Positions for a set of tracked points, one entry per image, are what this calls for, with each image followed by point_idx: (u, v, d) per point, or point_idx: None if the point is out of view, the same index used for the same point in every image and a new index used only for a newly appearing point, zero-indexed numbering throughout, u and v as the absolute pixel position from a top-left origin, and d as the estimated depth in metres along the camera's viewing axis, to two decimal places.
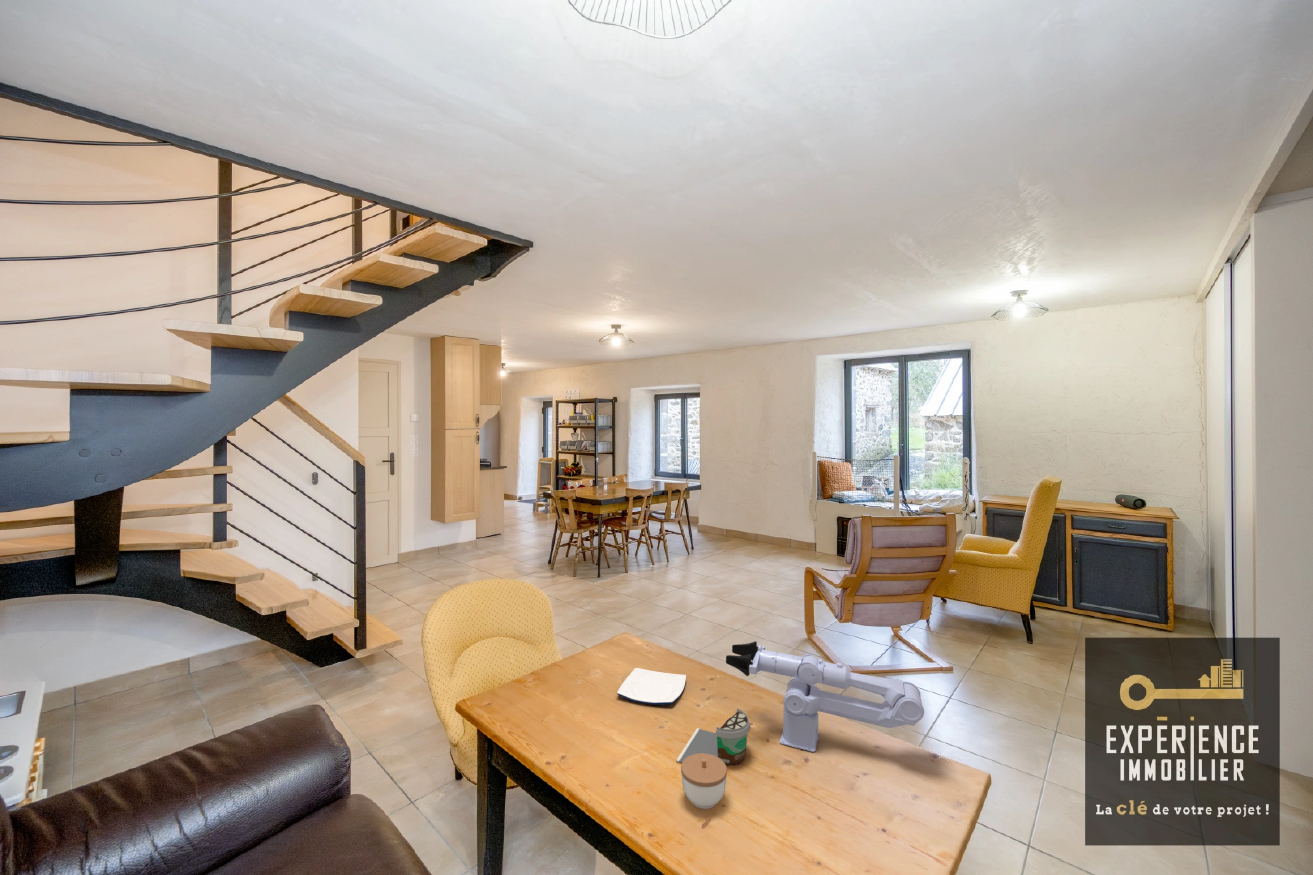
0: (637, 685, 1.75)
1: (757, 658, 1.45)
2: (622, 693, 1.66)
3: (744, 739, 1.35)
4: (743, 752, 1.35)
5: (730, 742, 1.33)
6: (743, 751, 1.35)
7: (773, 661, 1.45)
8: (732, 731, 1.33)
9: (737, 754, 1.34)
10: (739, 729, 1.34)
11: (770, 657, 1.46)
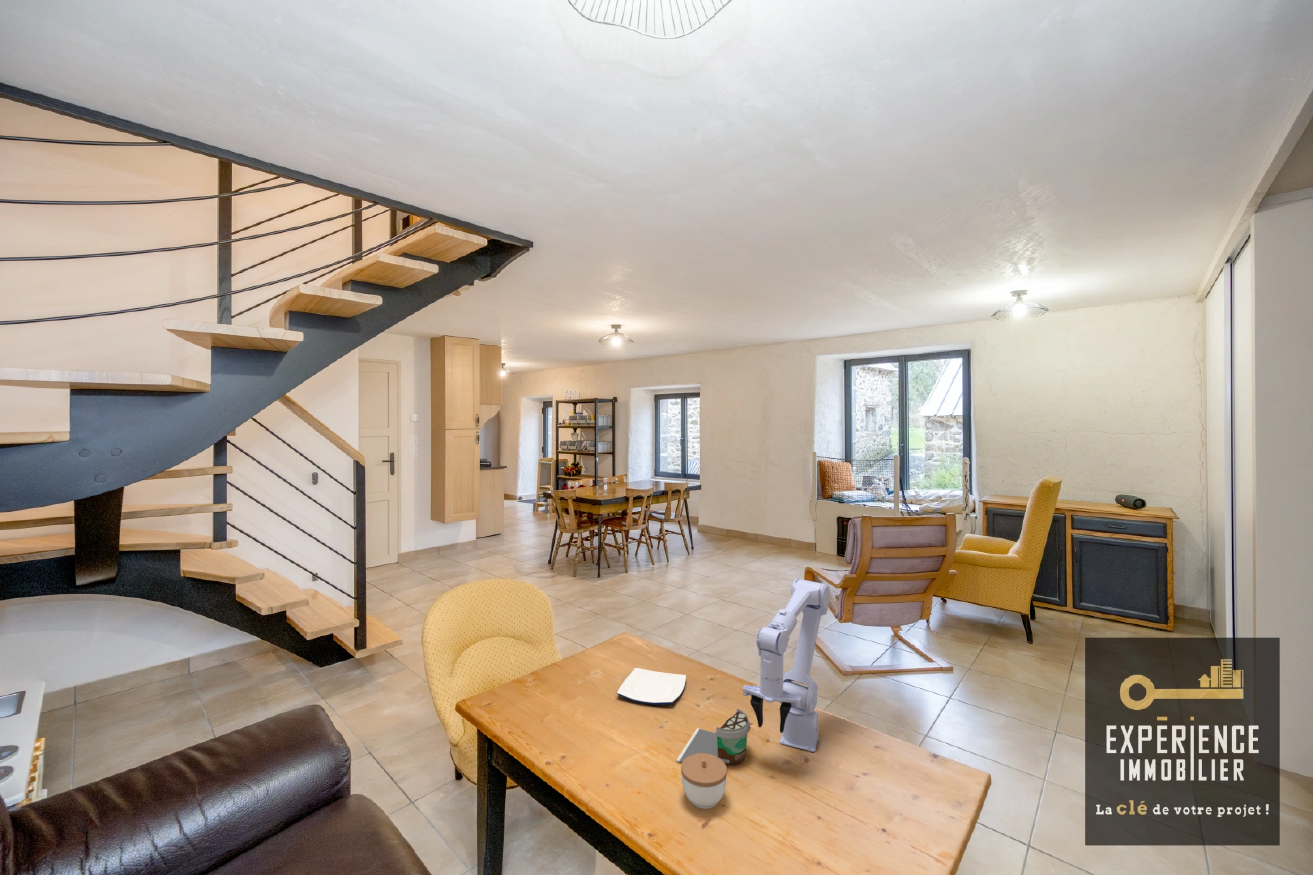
0: (637, 685, 1.75)
1: (784, 700, 1.30)
2: (622, 693, 1.66)
3: (744, 739, 1.35)
4: (743, 752, 1.35)
5: (730, 742, 1.33)
6: (743, 751, 1.35)
7: (780, 681, 1.30)
8: (732, 731, 1.33)
9: (737, 754, 1.34)
10: (739, 729, 1.34)
11: (777, 685, 1.30)
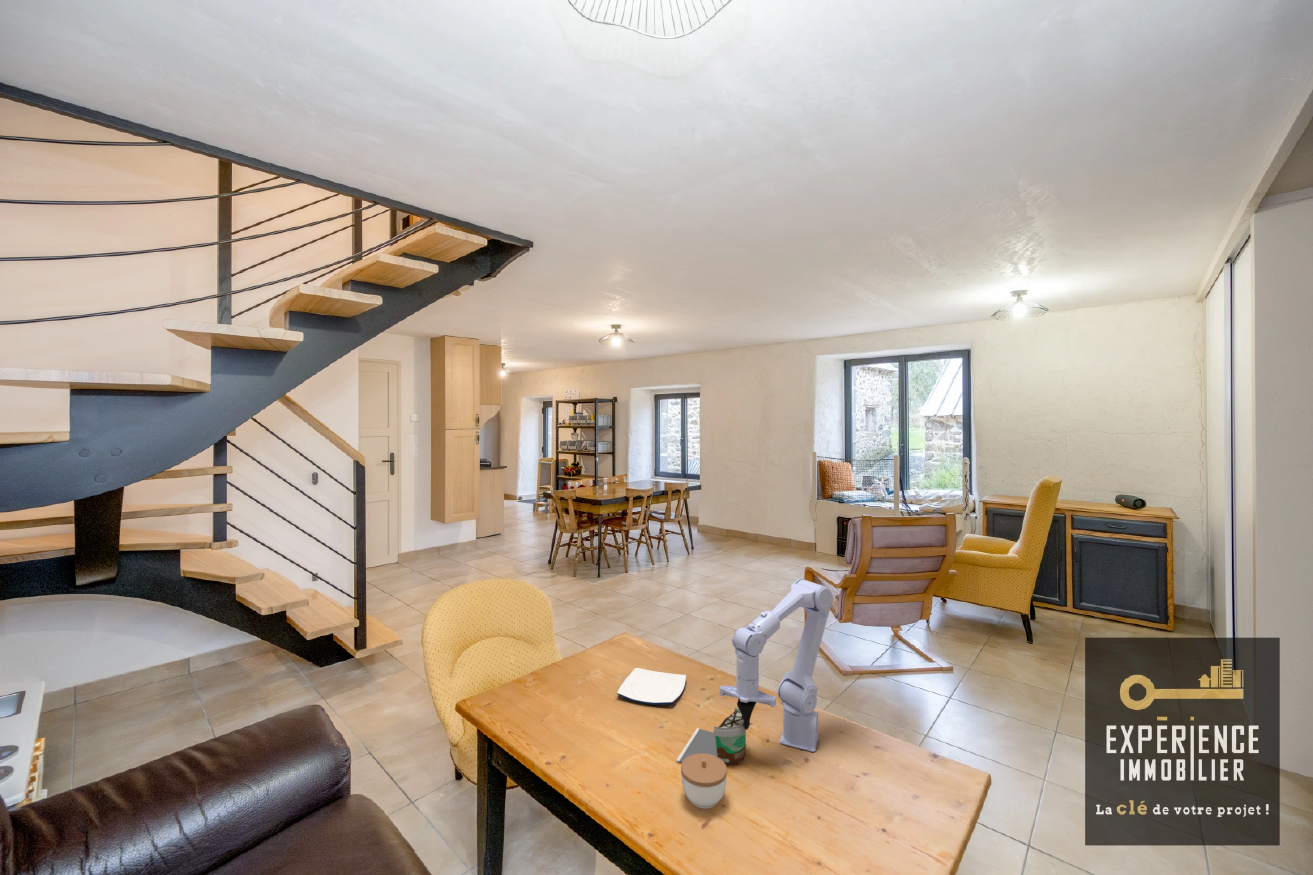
0: (637, 685, 1.75)
1: (759, 700, 1.32)
2: (622, 693, 1.66)
3: (742, 737, 1.35)
4: (742, 750, 1.35)
5: (728, 741, 1.33)
6: (742, 749, 1.35)
7: (755, 681, 1.33)
8: (730, 729, 1.33)
9: (736, 753, 1.34)
10: (737, 727, 1.34)
11: (752, 685, 1.33)
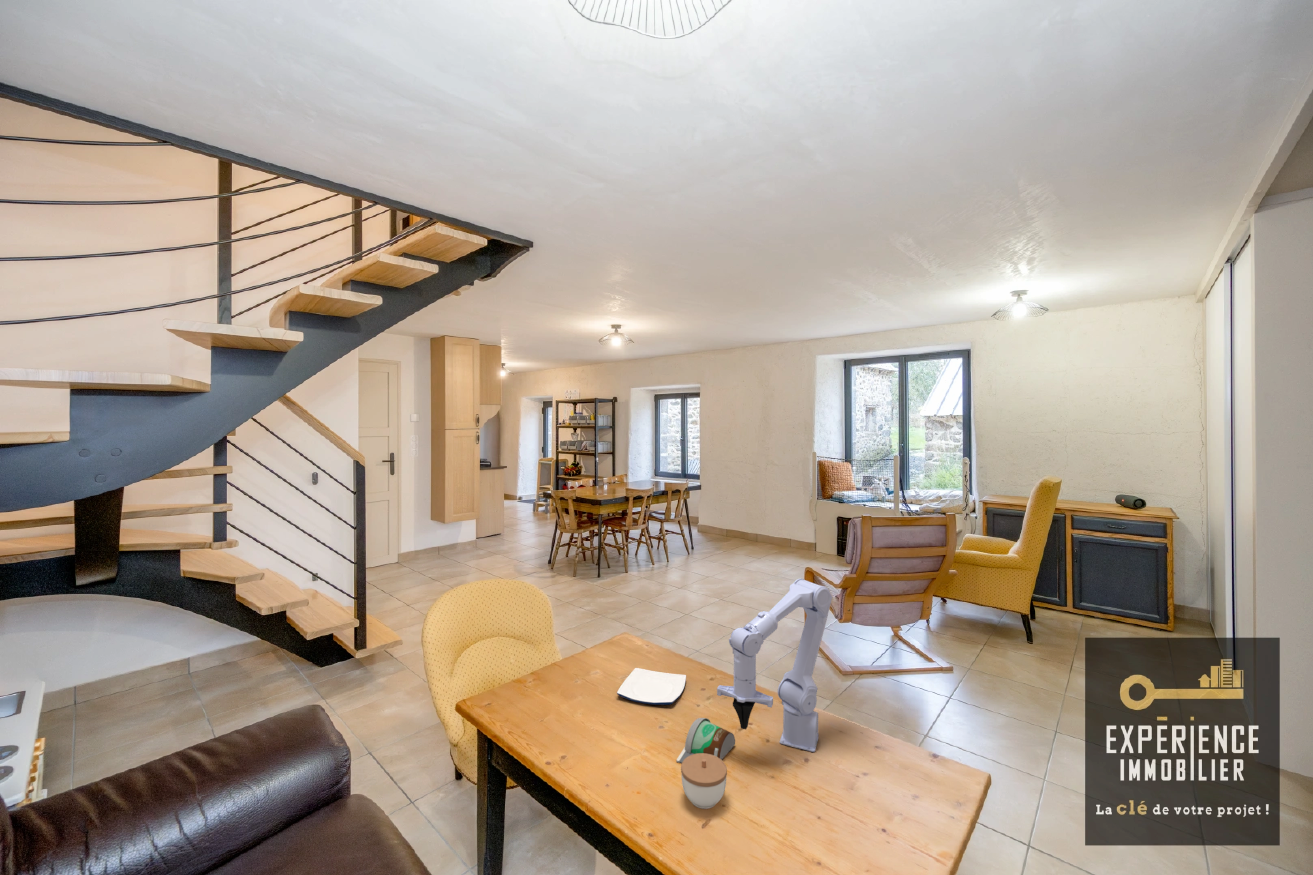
0: (637, 685, 1.75)
1: (756, 700, 1.33)
2: (622, 693, 1.66)
3: (707, 726, 1.42)
4: (718, 731, 1.40)
5: (699, 740, 1.39)
6: (717, 731, 1.40)
7: (752, 681, 1.33)
8: (689, 733, 1.40)
9: (714, 737, 1.38)
10: (691, 726, 1.42)
11: (749, 685, 1.33)
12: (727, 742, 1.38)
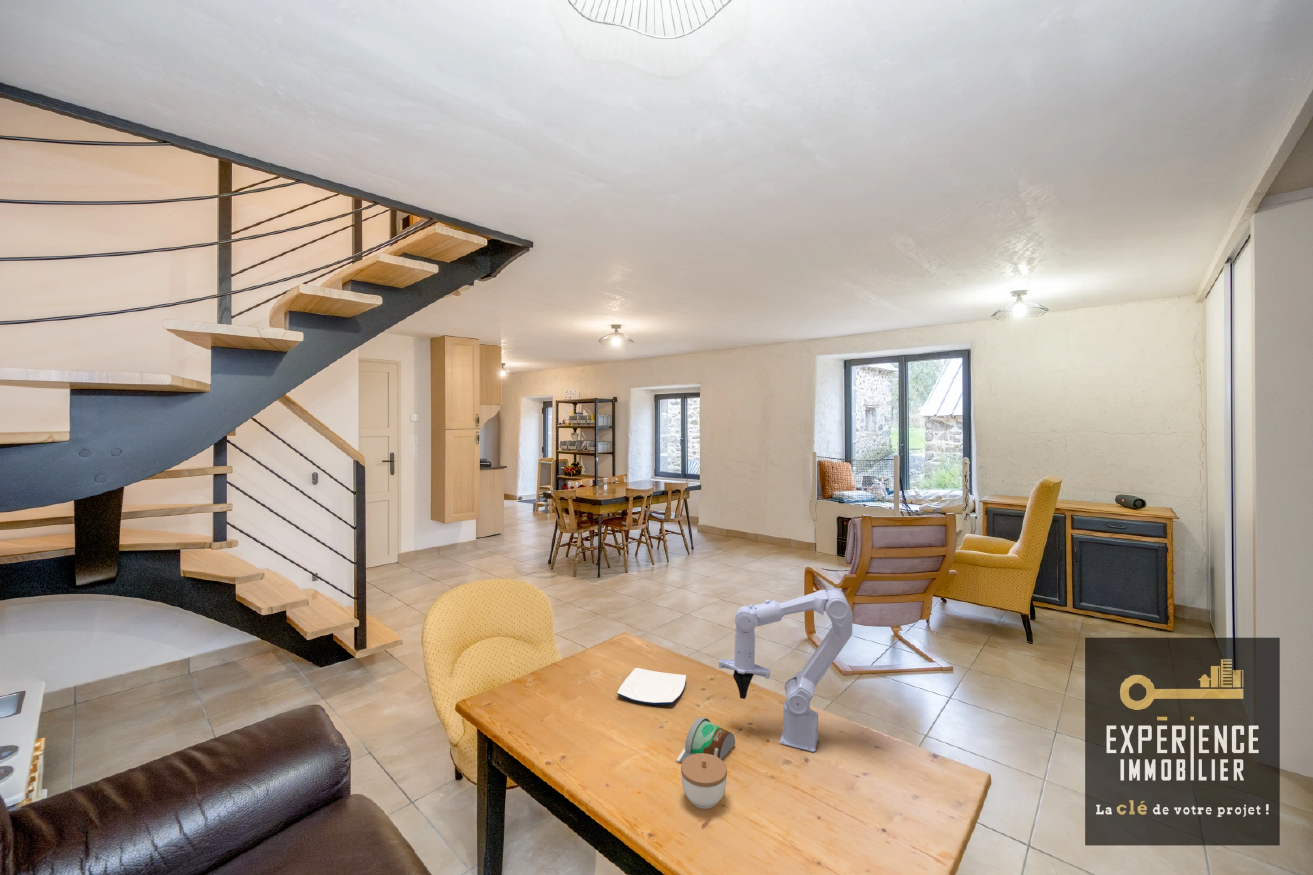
0: (637, 685, 1.75)
1: (755, 671, 1.45)
2: (622, 693, 1.66)
3: (707, 726, 1.42)
4: (718, 731, 1.40)
5: (699, 740, 1.39)
6: (717, 731, 1.40)
7: (752, 655, 1.46)
8: (689, 733, 1.40)
9: (714, 737, 1.38)
10: (691, 726, 1.42)
11: (749, 658, 1.45)
12: (727, 742, 1.38)
